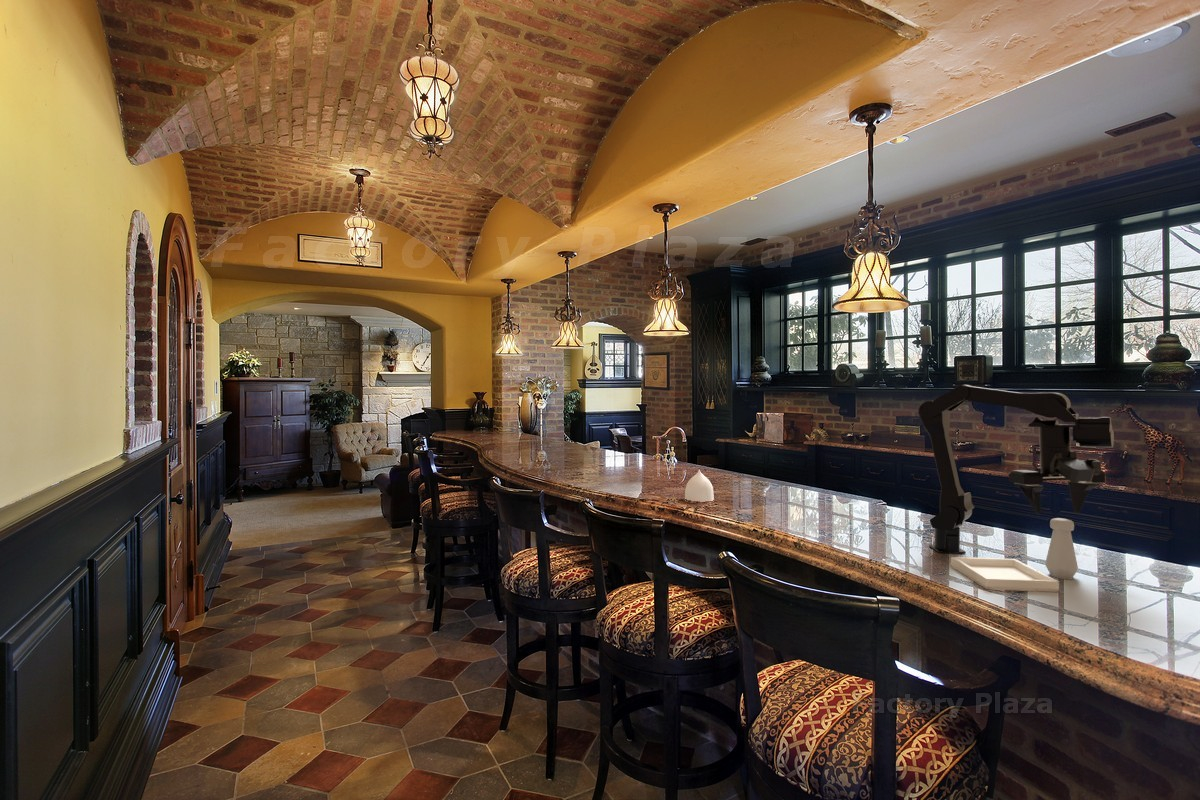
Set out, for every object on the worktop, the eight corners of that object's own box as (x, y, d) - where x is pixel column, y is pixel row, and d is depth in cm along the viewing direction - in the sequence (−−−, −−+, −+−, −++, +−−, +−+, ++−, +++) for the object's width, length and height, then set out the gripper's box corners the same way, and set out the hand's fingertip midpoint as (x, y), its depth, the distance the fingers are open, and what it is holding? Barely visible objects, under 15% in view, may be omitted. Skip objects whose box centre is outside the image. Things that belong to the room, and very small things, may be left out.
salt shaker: (1045, 570, 135) (1046, 515, 135) (1077, 575, 132) (1078, 518, 131) (1044, 576, 131) (1045, 519, 130) (1077, 582, 127) (1078, 523, 127)
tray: (951, 566, 139) (951, 556, 139) (1014, 568, 137) (1015, 558, 137) (986, 589, 123) (986, 579, 123) (1058, 592, 121) (1059, 581, 121)
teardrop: (683, 497, 227) (683, 466, 226) (711, 497, 226) (711, 466, 226) (686, 503, 216) (686, 471, 215) (716, 503, 215) (716, 471, 215)
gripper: (1041, 450, 127) (1044, 521, 127) (1126, 447, 127) (1128, 518, 127) (1005, 446, 138) (1008, 512, 138) (1083, 444, 138) (1086, 509, 138)
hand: (1057, 513), depth 135 cm, fingers open, 9 cm apart
